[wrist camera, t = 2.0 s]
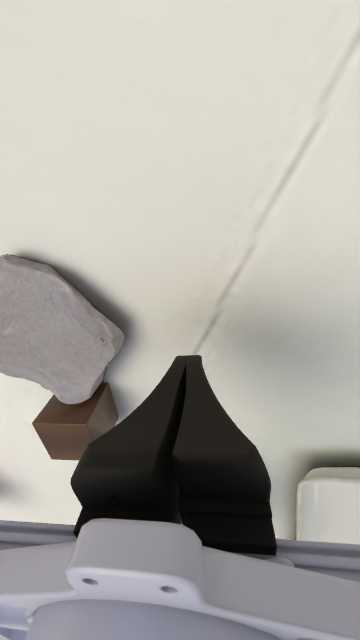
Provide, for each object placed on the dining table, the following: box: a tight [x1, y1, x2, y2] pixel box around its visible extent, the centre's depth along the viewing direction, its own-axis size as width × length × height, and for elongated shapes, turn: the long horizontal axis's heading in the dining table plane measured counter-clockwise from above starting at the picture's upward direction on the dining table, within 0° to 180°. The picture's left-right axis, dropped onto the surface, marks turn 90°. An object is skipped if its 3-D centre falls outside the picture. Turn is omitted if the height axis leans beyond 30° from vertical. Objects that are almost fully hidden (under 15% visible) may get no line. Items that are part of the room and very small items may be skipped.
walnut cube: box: [32, 383, 118, 460], centre depth 23 cm, size 5×5×5 cm
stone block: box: [0, 254, 125, 404], centre depth 20 cm, size 12×5×10 cm
